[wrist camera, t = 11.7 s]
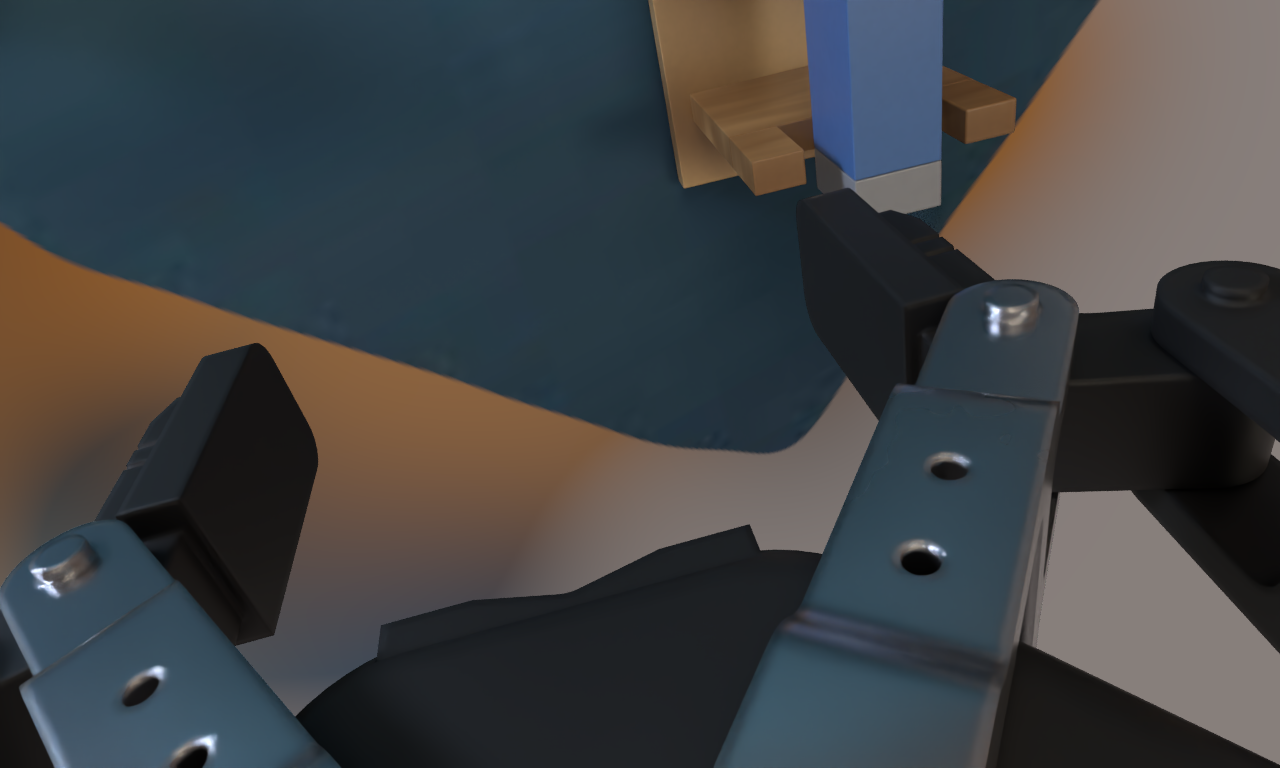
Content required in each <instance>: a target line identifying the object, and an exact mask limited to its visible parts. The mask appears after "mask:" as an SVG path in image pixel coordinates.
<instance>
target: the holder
mask: <svg viewBox="0 0 1280 768" xmlns="http://www.w3.org/2000/svg"><path fill="white" fill-rule="evenodd" d="M648 2H649V8H650V14H651V20H652V25H653V31H654V37H655V43H656V49H657V55H658V61H659V67H660V73H661V79H662V84H663V90H664V96H665V102H666V108H667V114H668V120H669V126H670V132H671V138H672V143H673V149H674V155H675V161H676V167H677V173H678V179H679V181H680V183H681V184H682V186H683V188H689V187H693V186H697V185H701V184H705V183H710V182H714V181H718V180H722V179H726V178H730V177H734V176H738V175H739V176H740V177H741V179H742V180H743V181H744V182H745V183H746V185H747V186H748V187H749V188H750V189H751V191H752V192H753V193H754V194H755V195H756V196H758V195H762V194H766V193H770V192H774V191H778V190H782V189H786V188H790V187H795V186H799V185H803V184H806V172H805V159H808V158H812V157H815V150H814V149H815V146H814V136H813V122H812V109H811V95H810V82H809V68H808V55H807V41H806V28H805V14H804V1H803V0H648ZM1015 114H1016V98H1014V97H1012V96H1010V95H1008V94H1005V93H1003V92H1001V91H998V90H996V89H994V88H991V87H989V86H987V85H985V84H982V83H980V82H978V81H975V80H973V79H972V78H969V77H967V76H965V75H962V74H960V73H958V72H956V71H953V70H951V69H949V68H946V67H944V66H942V131H943V132H945V133H947V134H949V135H950V136H952V137H954V138H955V139H957V140H959V141H961V142H962V143H964V144H968V143H972V142H976V141H981V140H985V139H989V138H993V137H997V136H1001V135H1005V134H1009V133H1013V132H1014V130H1015Z"/></svg>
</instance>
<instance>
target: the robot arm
mask: <svg viewBox="0 0 1280 768" xmlns="http://www.w3.org/2000/svg"><path fill="white" fill-rule="evenodd" d="M796 220H797V230H798V239H799V248H800V258H801V267H802V276H803V286H804V294H805V301H806V306H807V310H808V314H809V317H810V320H811V323H812V325H813V327H814V330H815V331H816V333H817V335H818V336H819V338H820V339H821V341H822V342H823V343H824V345H825V346H826V348H827V349H828V350H829V352H830V353H831V355H832V356H833V357H834V359H835V360H836V362H837V363H838V364H839V366H840V367H841V369H842V370H843V371H844V373H845V374H846V376H847V377H848V378H849V380H850V381H851V383H852V384H853V385H854V387H855V388H856V390H857V391H858V392H859V394H860V395H861V397H862V398H863V399H864V401H865V402H866V404H867V405H868V406H869V408H870V409H871V411H872V412H873V413H874V415H875V416H876V417H877V419H878V420H879V422H878V425H877V427H876V430H875V432H874V434H873V436H872V439H871V441H870V443H869V446H868V448H867V450H866V453H865V455H864V458H863V460H862V462H861V465H860V467H859V469H858V472H857V474H856V476H855V479H854V481H853V484H852V486H851V488H850V490H849V493H848V495H847V498H846V500H845V502H844V505H843V507H842V509H841V512H840V514H839V516H838V519H837V521H836V523H835V526H834V528H833V531H832V533H831V535H830V538H829V540H828V542H827V545H826V547H825V549H824V552H823V554H819V553H812V552H804V551H797V550H762V551H760V549H759V546H758V544H757V542H756V539H755V537H754V534H753V532H752V529H751V527H750V525H745V526H741V527H738V528H734V529H730V530H727V531H723V532H720V533H716V534H712V535H708V536H705V537H701V538H698V539H694V540H690V541H687V542H683V543H680V544H676V545H672V546H668V547H665V548H662V549H658V550H656V551H655V552H652V553H650V554H648V555H646V556H644V557H642V558H640V559H638V560H637V561H634V562H632V563H630V564H628V565H626V566H624V567H622V568H620V569H618V570H616V571H614V572H612V573H610V574H608V575H606V576H604V577H602V578H600V579H598V580H596V581H593V582H591V583H589V584H587V585H585V586H583V587H581V588H579V589H577V590H575V591H572V592H569V593H565V594H557V595H543V596H528V597H514V598H499V599H484V600H472V601H468V602H465V603H461V604H458V605H453V606H450V607H446V608H443V609H439V610H435V611H432V612H428V613H424V614H421V615H417V616H413V617H410V618H406V619H403V620H399V621H395V622H392V623H388V624H385V625H381V629H380V637H379V645H378V653H377V657H376V658H374V659H372V660H370V661H368V662H366V663H364V664H363V665H361V666H359V667H358V668H356V669H355V670H353V671H351V672H350V673H348V674H346V675H345V676H344V677H342V678H341V679H339V680H338V681H336V682H335V683H334V684H332V685H331V686H330V687H328V688H327V689H326V690H324V691H323V692H322V693H321V694H320V695H318V696H317V697H316V698H315V699H314V700H312V701H311V702H310V703H309V704H308V705H307V706H306V707H305V708H304V709H303V710H302V711H301V712H299V714H298V715H297V716H294V715H293V714H292V713H291V712H290V711H289V709H288V708H287V707H286V706H285V705H284V704H283V702H282V701H281V700H280V699H279V698H278V696H277V695H276V694H275V693H274V692H273V691H272V689H271V688H270V687H269V686H268V685H267V683H266V682H265V681H264V680H263V679H262V678H261V676H260V675H259V674H258V673H257V672H256V671H255V669H254V668H253V667H252V666H251V665H250V664H249V662H248V661H247V660H246V659H245V658H244V657H243V655H242V654H241V653H240V652H239V651H238V649H237V648H236V647H235V646H236V645H240V644H244V643H247V642H251V641H254V640H258V639H262V638H266V637H269V636H273V635H274V633H275V629H276V625H277V621H278V618H279V614H280V610H281V606H282V602H283V599H284V595H285V591H286V587H287V583H288V579H289V575H290V572H291V568H292V564H293V560H294V556H295V552H296V549H297V545H298V541H299V537H300V533H301V529H302V525H303V522H304V518H305V514H306V509H307V506H308V502H309V499H310V494H311V491H312V487H313V483H314V479H315V475H316V472H317V467H318V453H317V447H316V443H315V439H314V436H313V433H312V431H311V429H310V427H309V424H308V422H307V421H306V419H305V417H304V415H303V413H302V412H301V410H300V408H299V406H298V404H297V402H296V400H295V399H294V397H293V395H292V393H291V391H290V389H289V387H288V386H287V384H286V382H285V380H284V378H283V376H282V375H281V373H280V371H279V369H278V367H277V365H276V363H275V362H274V360H273V358H272V357H271V355H270V353H269V352H268V351H267V350H266V348H265V347H263V346H262V345H261V344H259V343H254V344H250V345H246V346H242V347H238V348H234V349H231V350H227V351H223V352H219V353H216V354H212V355H208V356H205V357H203V358H202V359H201V361H200V363H199V364H198V366H197V368H196V370H195V372H194V374H193V375H192V377H191V379H190V381H189V383H188V385H187V386H186V388H185V390H184V392H183V394H182V396H181V397H179V398H177V399H176V400H175V401H173V402H172V403H171V404H170V405H169V406H168V407H167V408H166V409H165V410H164V411H163V412H162V413H161V414H159V415H158V416H157V417H156V418H155V419H154V420H153V421H152V422H151V423H150V425H149V427H148V429H147V430H146V432H145V434H144V436H143V437H142V439H141V441H140V443H139V444H138V448H139V450H136V451H134V453H133V455H132V456H131V458H130V460H129V462H128V464H127V465H126V466H127V470H124V471H123V472H122V474H121V476H120V477H119V479H118V481H117V483H116V484H115V486H114V488H113V489H112V491H111V493H110V495H109V497H108V498H107V500H106V502H105V503H104V505H103V507H102V509H101V511H100V512H99V514H98V516H97V517H96V519H95V521H94V522H90V523H87V524H84V525H81V526H78V527H76V528H73V529H71V530H69V531H66V532H64V533H62V534H60V535H59V536H57V537H55V538H53V539H51V540H50V541H48V542H47V543H45V544H43V545H42V546H40V547H39V548H38V549H36V550H35V551H34V552H32V553H31V554H30V555H28V556H27V557H26V558H25V559H24V560H23V561H21V562H20V563H19V564H18V565H17V566H16V568H15V569H14V570H13V571H12V572H11V573H10V574H9V576H8V577H7V578H6V580H5V582H4V583H3V585H2V586H1V588H0V768H1280V765H1279V764H1276V763H1275V762H1273V761H1270V760H1268V759H1266V758H1264V757H1262V756H1260V755H1258V754H1256V753H1253V752H1252V751H1250V750H1247V749H1245V748H1243V747H1241V746H1239V745H1237V744H1235V743H1233V742H1231V741H1229V740H1226V739H1224V738H1222V737H1220V736H1218V735H1216V734H1214V733H1212V732H1210V731H1208V730H1206V729H1204V728H1202V727H1199V726H1197V725H1195V724H1193V723H1191V722H1189V721H1187V720H1185V719H1183V718H1181V717H1179V716H1177V715H1174V714H1172V713H1170V712H1168V711H1166V710H1164V709H1161V708H1160V707H1158V706H1156V705H1154V704H1151V703H1149V702H1147V701H1145V700H1143V699H1141V698H1139V697H1137V696H1135V695H1132V694H1131V693H1129V692H1126V691H1124V690H1122V689H1120V688H1118V687H1116V686H1114V685H1112V684H1110V683H1108V682H1106V681H1103V680H1101V679H1099V678H1097V677H1095V676H1093V675H1091V674H1089V673H1087V672H1085V671H1083V670H1080V669H1078V668H1076V667H1074V666H1072V665H1070V664H1068V663H1066V662H1064V661H1062V660H1060V659H1058V658H1056V657H1054V656H1051V655H1049V654H1047V653H1045V652H1043V651H1041V650H1039V649H1037V648H1036V646H1037V638H1038V629H1039V622H1040V615H1041V608H1042V601H1043V595H1044V589H1045V583H1046V577H1047V571H1048V565H1049V559H1050V553H1051V547H1052V541H1053V535H1054V529H1055V523H1056V517H1057V511H1058V504H1059V498H1060V492H1082V491H1083V492H1084V491H1120V490H1121V491H1122V490H1131V491H1132V492H1133V494H1134V495H1135V496H1136V497H1137V499H1138V500H1139V501H1140V502H1141V503H1142V504H1143V505H1144V506H1145V507H1146V508H1147V509H1148V511H1149V512H1150V513H1151V514H1152V515H1153V516H1154V517H1155V518H1156V519H1157V520H1158V521H1159V523H1160V524H1161V525H1162V526H1163V527H1164V528H1165V529H1166V530H1167V531H1168V532H1169V533H1170V535H1171V536H1172V537H1173V538H1174V539H1175V540H1176V541H1177V542H1178V543H1179V544H1180V545H1181V547H1182V548H1183V549H1184V550H1185V551H1186V552H1187V553H1188V554H1189V555H1190V556H1191V557H1192V559H1193V560H1194V561H1195V562H1196V563H1197V564H1198V565H1199V566H1200V567H1201V568H1202V569H1203V571H1204V572H1205V573H1206V574H1207V575H1208V576H1209V577H1210V578H1211V579H1212V580H1213V581H1214V583H1215V584H1216V585H1217V586H1218V587H1219V588H1220V589H1221V590H1222V591H1223V592H1224V593H1225V594H1226V596H1227V597H1229V599H1230V600H1231V601H1232V602H1233V603H1234V604H1235V605H1236V606H1237V608H1238V609H1239V610H1240V611H1241V612H1242V613H1243V614H1244V615H1245V616H1246V617H1247V618H1248V620H1249V621H1250V622H1251V623H1252V624H1253V625H1254V626H1255V627H1256V628H1257V629H1258V631H1260V633H1261V634H1262V635H1263V636H1264V637H1265V638H1266V639H1267V640H1268V641H1269V642H1270V643H1271V645H1272V646H1273V647H1274V648H1275V649H1276V650H1277V651H1278V652H1279V653H1280V461H1279V460H1278V459H1276V458H1275V457H1274V456H1273V455H1271V452H1272V448H1273V444H1274V441H1275V439H1276V440H1278V441H1279V442H1280V269H1278V268H1274V267H1270V266H1266V265H1262V264H1257V263H1250V262H1242V261H1208V262H1199V263H1194V264H1189V265H1186V266H1183V267H1179V268H1177V269H1174V270H1172V271H1171V272H1169V273H1167V274H1166V275H1164V276H1163V277H1162V278H1161V279H1160V281H1159V283H1158V285H1157V291H1156V297H1155V303H1154V309H1145V310H1131V311H1117V312H1104V313H1079V308H1078V305H1077V303H1076V301H1075V300H1074V299H1073V297H1071V296H1070V295H1069V294H1068V293H1066V292H1065V291H1063V290H1061V289H1059V288H1057V287H1054V286H1052V285H1048V284H1045V283H1041V282H1036V281H1029V280H1016V279H1014V280H1013V279H1012V280H1011V279H1007V280H994V279H993V278H992V277H991V276H990V275H988V274H987V273H986V272H985V271H983V270H982V269H981V268H980V267H978V266H977V265H976V264H975V263H974V262H972V261H971V260H970V259H969V258H968V257H966V256H965V255H964V254H962V253H961V252H960V251H959V250H958V249H956V250H954V247H953V245H952V244H950V243H949V242H948V241H947V240H945V239H944V238H943V237H939V234H938V233H937V232H936V231H934V230H933V229H932V228H931V227H930V226H928V225H927V224H926V223H925V222H923V221H922V220H921V219H919V218H916V217H913V216H909V215H906V214H903V213H900V212H897V211H894V210H887V211H883V212H880V213H878V212H877V211H876V210H875V209H873V208H872V207H871V206H870V205H869V204H868V203H867V202H866V201H864V200H863V199H862V198H861V197H860V196H859V195H858V194H857V193H855V192H854V191H853V190H852V189H851V188H848V187H847V188H843V189H840V190H836V191H832V192H828V193H825V194H821V195H817V196H813V197H809V198H806V199H802V200H799V201H798V203H797V207H796Z"/></svg>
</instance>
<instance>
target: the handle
mask: <svg viewBox="0 0 1280 768" xmlns="http://www.w3.org/2000/svg"><path fill="white" fill-rule="evenodd" d="M803 1H804V14H805V28H806V41H807V55H808V68H809V82H810V95H811V109H812V122H813V136H814V146H815V149H814V150H815V163H816V177H817V188H818V189H819V190H820V191H821V192H822V193H823V194H825V193H828V192H832V191H836V190H840V189H843V188H847V187H848V188H851V189H852V190H853V191H854V192H855V193H857V194H858V195H859V196H860V197H861V198H862V199H863V200H864V201H866V202H867V203H868V204H869V205H870V206H871V207H872V208H873V209H875V210H876V211H877V212H878V213H880V212H883V211H887V210H894V211H897V212H900V213H903V214H907V213H911V212H915V211H919V210H923V209H927V208H931V207H935V206H939V205H941V141H942V58H943V0H803Z"/></svg>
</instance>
